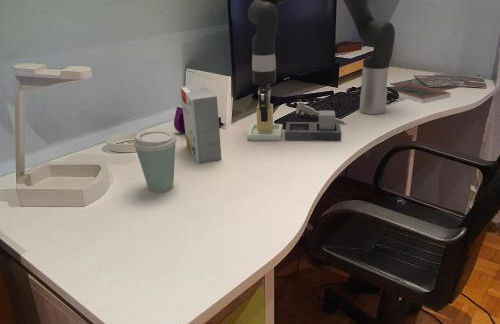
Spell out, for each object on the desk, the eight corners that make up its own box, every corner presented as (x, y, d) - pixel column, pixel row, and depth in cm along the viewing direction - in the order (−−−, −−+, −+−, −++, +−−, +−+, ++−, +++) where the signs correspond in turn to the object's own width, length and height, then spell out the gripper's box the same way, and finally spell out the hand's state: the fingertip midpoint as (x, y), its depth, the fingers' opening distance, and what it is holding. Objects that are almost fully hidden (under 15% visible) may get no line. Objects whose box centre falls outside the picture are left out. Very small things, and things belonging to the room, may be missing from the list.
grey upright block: (333, 133, 141) (334, 110, 138) (334, 138, 137) (335, 115, 133) (318, 133, 142) (319, 110, 139) (318, 138, 137) (319, 115, 134)
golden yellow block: (273, 126, 143) (272, 103, 140) (272, 131, 138) (271, 108, 135) (258, 126, 144) (258, 103, 140) (257, 131, 139) (256, 108, 136)
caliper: (295, 116, 159) (296, 101, 156) (297, 116, 160) (297, 100, 157) (345, 125, 148) (347, 109, 145) (347, 125, 149) (348, 108, 146)
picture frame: (383, 93, 186) (422, 104, 168) (383, 87, 185) (423, 98, 167) (409, 87, 192) (450, 98, 175) (410, 82, 191) (450, 92, 174)
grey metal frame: (338, 130, 143) (339, 122, 142) (340, 141, 134) (341, 132, 133) (286, 130, 146) (286, 121, 144) (285, 140, 137) (285, 132, 135)
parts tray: (282, 129, 146) (282, 124, 145) (280, 141, 136) (280, 135, 135) (251, 129, 148) (251, 123, 147) (247, 140, 138) (247, 135, 137)
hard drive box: (186, 146, 135) (179, 86, 127) (208, 142, 138) (203, 83, 129) (197, 164, 122) (191, 98, 114) (222, 160, 124) (218, 95, 116)
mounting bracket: (205, 137, 159) (171, 130, 144) (210, 115, 158) (177, 106, 144) (224, 142, 153) (190, 135, 139) (229, 119, 153) (196, 111, 138)
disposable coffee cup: (165, 174, 117) (158, 124, 111) (190, 185, 110) (184, 132, 104) (133, 188, 110) (123, 135, 103) (158, 201, 103) (150, 145, 97)
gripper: (274, 73, 125) (274, 126, 133) (277, 63, 138) (277, 112, 145) (249, 73, 126) (251, 125, 134) (254, 63, 139) (256, 112, 146)
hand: (265, 118), depth 139 cm, fingers closed on golden yellow block, 5 cm apart
